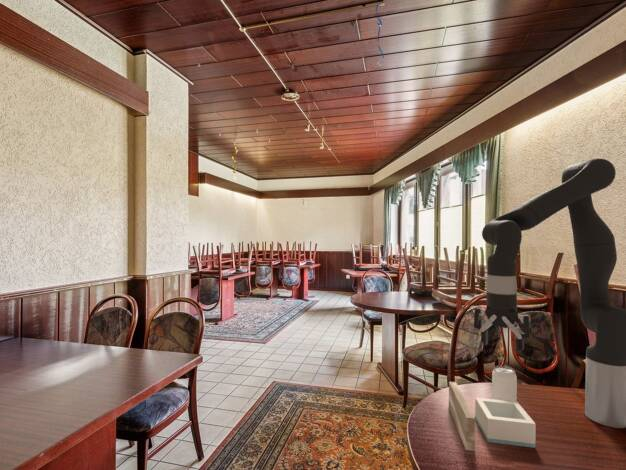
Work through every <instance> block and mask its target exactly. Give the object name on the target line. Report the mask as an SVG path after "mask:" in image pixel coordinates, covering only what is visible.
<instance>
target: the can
mask: <svg viewBox="0 0 626 470" xmlns="http://www.w3.org/2000/svg"><path fill="white" fill-rule="evenodd" d="M517 377H518V376H517V375H516V371H515V370H514V369H513V368H510V367H508V366H505V365H496V366H494V367H493V370H492V374H491V399H494V400H504V401H514V402H517V395H518V394H517V390H518V389H517V387H518V386H517V383H518V381H517V379H518V378H517Z"/></svg>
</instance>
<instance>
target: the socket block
mask: <svg viewBox="0 0 626 470" xmlns="http://www.w3.org/2000/svg"><path fill="white" fill-rule="evenodd" d="M474 398H475V401H474V417H475V422H476V423H477V425H478V427H479V428H480V430H481V433H482V434H483V436H484V439H485V440H486V442H487V443H493V444H501V445H510V446H517V447H526V448H534V449H536V436H537V435H536V433H537V432H536V429H537V428H536V427H537V426H536V423H535V421H534V420H533V419H532V418H531V416H530V415H529V414H528V413H527V411H525V409H524V408H523V406H521V404H519V402H518V401H516V402H514V401H504V400H494V399H492V398H484V397H483V398H482V397H474Z"/></svg>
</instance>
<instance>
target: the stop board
mask: <svg viewBox="0 0 626 470" xmlns="http://www.w3.org/2000/svg"><path fill="white" fill-rule="evenodd" d="M448 411H449V412H450V415H451V416H452V420H453V422H454V424H455V427H456V429H457V431H458V434H459V437H460V439H461V441H462V443H463V446H464V449H465V451H471V452H476V446H475V445H476V440H475V439H476V419H475V414H473V411H472V410H471V407H470V406H469V404H468V402H467V401H466V399H465V396H464V395H463V393H462V391H461V389H460V388H459V385H458V383H457V382H455V381H448Z"/></svg>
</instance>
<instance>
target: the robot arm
mask: <svg viewBox="0 0 626 470" xmlns="http://www.w3.org/2000/svg"><path fill="white" fill-rule="evenodd" d="M615 178H616V167H615V166H614V164H613V163H612V162H611V161H610V160H607V159H605V158H591V159H587V160H584V161H580V162H577V163H573V164H571V165H569V166H567V167H566V168H565V169H564V170H563V172H562V175H561V183H560V184H559V185H557V186H554V187H553V188H551V189H549V190H546V191H544V192H542V193H539V194H538V195H535V196H534V197H531V198H530V199H528V200H527V201H525V202H523V203H522V204H521V205H519V206H517V207H516V208H514V209H513V210H511V211H508V212H507V213H504V214H502V215H499V216H497V217H496V218H493V219H492V220H490V221H489V222H488V223H486V225H484V227H483V228H482V232H481V238H482V239H483V240H484V242H486V243H487V244H489V245H492V246H495V251H494V253H492V254H490V255H488V257H487V263H486V267H487V268H486V269H487V270H486V271H487V276H486V286H485V291H486V295H485V296H486V297H485V298H486V308H482V307H476V308H474V315H473V316H474V317H473V318H474V319H473V328H474V329H477V330H479V332H480V342H481V343H483V345H484V346H487V345H488V344H489V330H488V329H489V328H490V327H491V326H494V327H497V328H498V327H501V328H503V329H504V328H505V329H509V330H510V331H511V332H512V334H514V335H515V336H516V339H515V340H516V343H515V344H516V345H515V346H516V347H515V348H516V350H515V351H516V353H521V352H522V351H523V350H524V349H525V339H530V338H531V337H532V336H533V329H532V317H531V315H530V314H527V313H526V314H519V312H518V294H517V293H518V285H517V283H518V282H517V272H516V271H517V269H516V265H517V264H516V261H517V257H518V254H519V253H520V252H519V251H520V247H521V244H522V239H523V236H522V232H524V231H528V230H531V229H533V228H535V227H536V226H538V225H540V224H541V223H543V222H544V221H545V220H547V219H549V218H551V217H552V216H553V215H556V214H557V213H558V212H560V211H561V210H563V209H565V208H567V209H568V214H569V219H570V225H571V230H572V236H573V237H572V239H573V247H574V254H575V255H574V256H575V260H576V264H577V265H576V266H577V274H578V281H579V292H580V295H579V297H580V300H579V302H580V305H579V306H580V309H579V310H580V313H579V314H580V319H581V322H582V323H583V325H584V327H585V328H586V329H587V330H590V331H591V332H592V333H595V334H596V335H595V343H594V345H593V344H591V345H589V346H587V347H586V350H585V383H584V384H585V385H584V386H585V389H584V390H585V391H584V392H585V393H584V397H585V398H584V414H585V416H586V417H587V418H588V419H589V420H592V421H593V422H595V423H596V424H599V425H602V426H606V427H610V428H614V429H625V428H626V309H625V308H621V307H619V306H615V305H612V302H611V297H610V293H609V282H610V279H611V277H612V274H613V272H614V269H615V268H616V265H617V260H618V254H617V248H616V240H615V236H614V234H613V232H612V230H611V229H610V228H609V226H608V225H607V224H606V223H605V221H604V220H603V219H602V218H601V216H600V215H599V214H598V212H597V211H596V209H595V206H594V203H593V199H592V195H593V194H595V193H597V192H599V191H601V190H604V189H607V188H609V186H611V184H613V182H614V181H615ZM484 314H485V316H486V317H487V319H488V320H486V321H485V323H484V324H482V316H484ZM518 320H520V322H521V324H523V330H524V331H522V330H521V328H520V326H519V325H518V323H517V321H518Z"/></svg>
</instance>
